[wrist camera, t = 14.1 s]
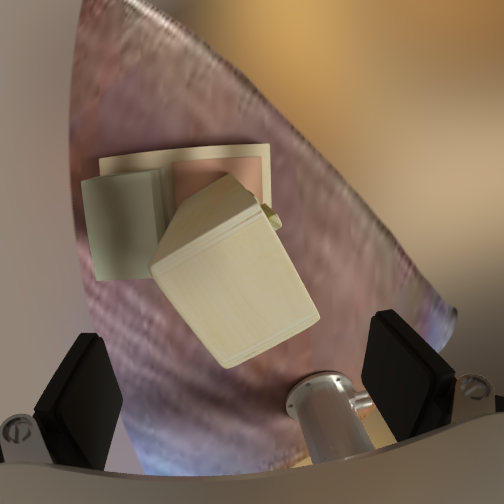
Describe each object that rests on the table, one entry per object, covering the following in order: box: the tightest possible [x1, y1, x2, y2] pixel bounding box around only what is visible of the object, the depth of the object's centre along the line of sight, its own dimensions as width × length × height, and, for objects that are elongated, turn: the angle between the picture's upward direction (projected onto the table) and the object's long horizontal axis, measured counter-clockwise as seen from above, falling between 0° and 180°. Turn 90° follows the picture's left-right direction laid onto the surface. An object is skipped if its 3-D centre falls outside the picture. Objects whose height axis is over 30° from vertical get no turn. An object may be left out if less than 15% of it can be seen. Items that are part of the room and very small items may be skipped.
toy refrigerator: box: [148, 173, 320, 369], centre depth 26 cm, size 8×7×21 cm
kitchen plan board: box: [81, 144, 271, 281], centre depth 33 cm, size 20×14×11 cm
